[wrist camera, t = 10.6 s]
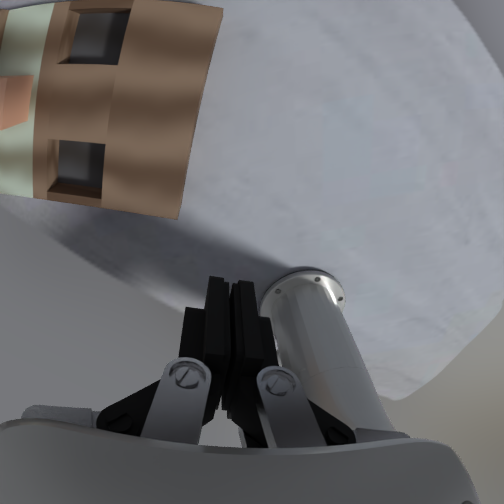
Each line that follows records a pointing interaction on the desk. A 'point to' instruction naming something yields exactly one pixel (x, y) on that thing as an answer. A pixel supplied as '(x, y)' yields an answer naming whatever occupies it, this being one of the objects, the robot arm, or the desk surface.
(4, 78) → the block
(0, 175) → the box
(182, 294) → the desk surface
